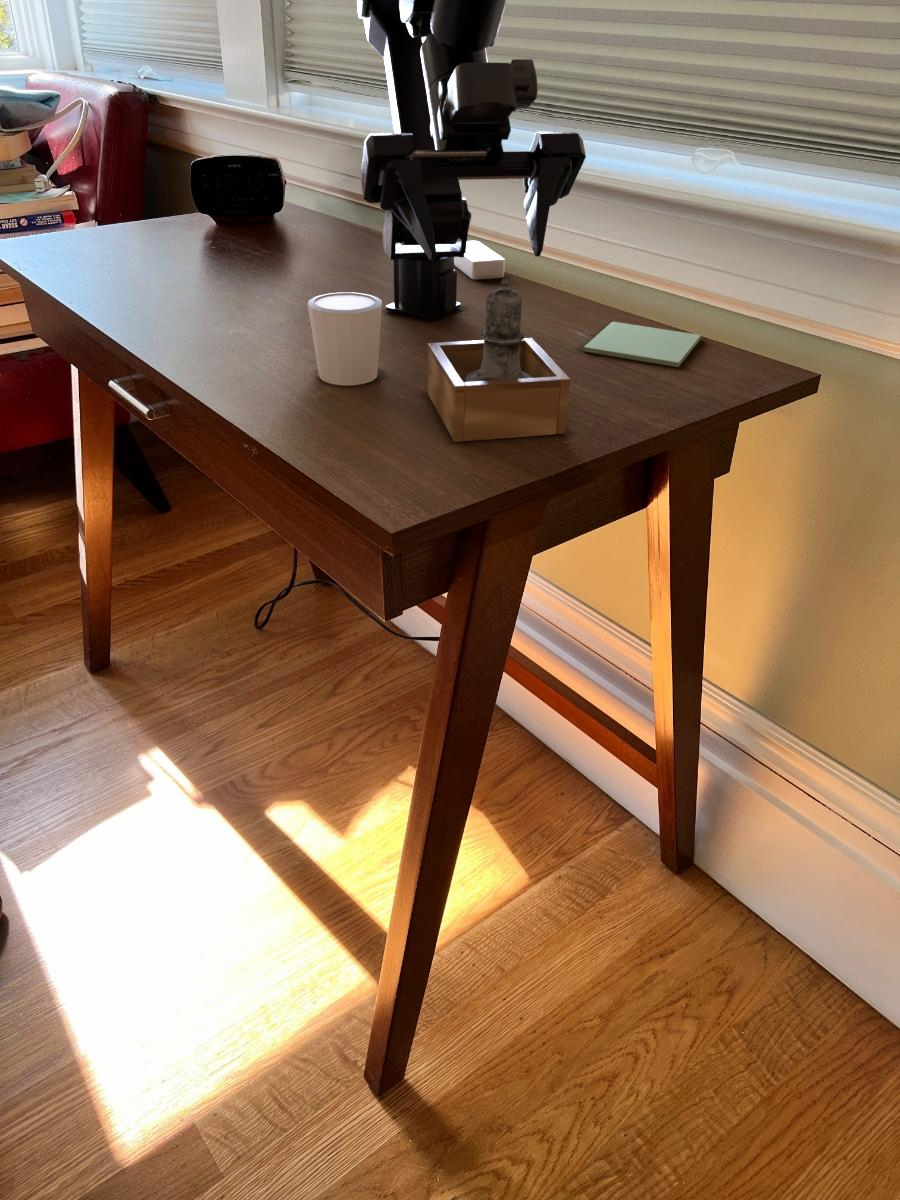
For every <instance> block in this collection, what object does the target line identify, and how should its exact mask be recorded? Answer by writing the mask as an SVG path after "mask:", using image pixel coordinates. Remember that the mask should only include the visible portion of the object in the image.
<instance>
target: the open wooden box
mask: <svg viewBox="0 0 900 1200" xmlns="http://www.w3.org/2000/svg"><path fill="white" fill-rule="evenodd" d="M427 350H428V351H427V352H428V353H427V395H428V397H429V399H430V400H431V402H432V404H433V406H434V408H435V410H436V412H437V413H438V416H439V417H440V419H441V420H442V422H443V424H444V426H445V428H446V430H447V431H448V434H449V435H450V437H451V439H452V441H453V442H454V443H460V442H474V441H486V440H487V441H488V440H498V439H499V440H500V439H513V438H527V437H536V436H537V437H540V436H552V435H564V434H565V433H566V425H567V424H566V423H567V416H568V415H567V414H568V406H569V405H568V404H569V395H570V386H571V378H570V377H569V376H568V375H567V373H565V371H564V370H563V369H562V368H561V367H560V365H558V364H557V363H556V362H555V361H554V360H553V358H552V357H551V356H550V355H549V354H548V353H547V352H546V351H545V350H544V349H543V348H542V347H541V346H540V345H539V343H538V342H536V340H535V339H534V338H533V337H524V339H523V340H522V341H520V354H519V362H520V368H521V371H522V372H524V373H527V374H529V375H530V376H532V378H522V379H506V380H490V381H474V382H465V380H466V377H467V376H468V375H469V374H470V373H472V372H474V371H477V370H480V368H481V365H482V361H483V350H484V339H477V340H460V341H459V340H457V341H443V342H441V341H440V342H439V341H438V342H428V343H427Z"/></svg>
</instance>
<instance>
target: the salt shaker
mask: <svg viewBox="0 0 900 1200" xmlns="http://www.w3.org/2000/svg"><path fill="white" fill-rule="evenodd" d="M500 284H501V287H500V286H499V288H498V289H494V290H492V291H491V292H490V293H489V294H488V295H487V297H486V301H485V303H486V304H485V323H484V324H485V325H484V330H483V331H481V332H480V336H479V337H480V338H481V340H484V350H483V361H482V365H481V368H480V370H477V371H474V372H472V373H470V374H469V375H468V376H467V377H466V380H465V382H474V381H490V380H506V379H522V378H532V376H530V375H529V374H527V373H524V372H522V371H521V368H520V362H519V354H520V341H522V340H523V339H524V338H525V334H524V333H523V332H521V320H522V305H523V300H522V297H521V295H520V294H519V292H517V291H516V290H513V289H511V288H510V287H509V284H510V282H509V280H508V279H507V277H503V278H502V281H500Z"/></svg>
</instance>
